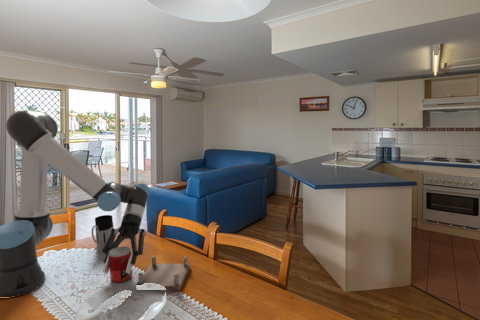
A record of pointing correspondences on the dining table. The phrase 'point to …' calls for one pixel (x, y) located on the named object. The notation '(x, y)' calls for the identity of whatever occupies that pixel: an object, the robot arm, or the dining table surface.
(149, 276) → the peg board
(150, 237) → the dining table surface
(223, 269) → the dining table surface
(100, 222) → the grey mug
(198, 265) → the dining table surface
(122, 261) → the canned food
